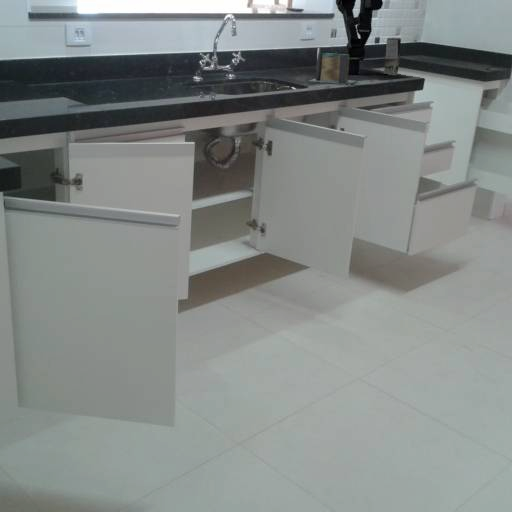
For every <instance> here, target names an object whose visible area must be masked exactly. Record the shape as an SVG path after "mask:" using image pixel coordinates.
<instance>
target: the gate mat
mask: <svg viewBox="0 0 512 512" xmlns="http://www.w3.org/2000/svg"><path fill="white" fill-rule="evenodd" d="M308 82H309V83H317V82H319V84H329V83H334V84H333V85H342V84H345V83H339V81H332V80H320V81H316V77H315V78H313V79H310V80H308ZM355 82H356V83H357V80H353V79H351V80H350V79H348V81H347V83H346V84H351V85H353V84H355Z"/></svg>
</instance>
